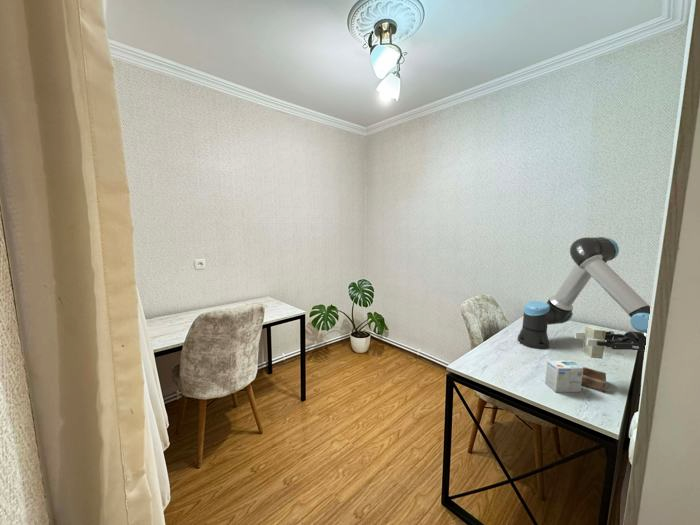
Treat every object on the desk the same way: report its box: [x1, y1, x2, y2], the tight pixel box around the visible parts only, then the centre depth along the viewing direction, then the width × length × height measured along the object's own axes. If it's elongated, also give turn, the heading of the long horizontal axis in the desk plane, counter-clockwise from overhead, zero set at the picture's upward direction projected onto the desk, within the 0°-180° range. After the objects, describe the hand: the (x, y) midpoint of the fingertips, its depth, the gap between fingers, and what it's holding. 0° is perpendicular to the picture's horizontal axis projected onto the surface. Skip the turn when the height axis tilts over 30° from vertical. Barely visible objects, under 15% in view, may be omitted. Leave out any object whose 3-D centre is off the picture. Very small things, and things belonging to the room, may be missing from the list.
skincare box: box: [582, 325, 607, 360], centre depth 119 cm, size 6×4×12 cm
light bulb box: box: [544, 359, 584, 393], centre depth 117 cm, size 11×7×11 cm, turn 92°
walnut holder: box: [580, 365, 607, 394], centre depth 122 cm, size 11×11×4 cm
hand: (581, 338), depth 120 cm, fingers closed on skincare box, 6 cm apart
